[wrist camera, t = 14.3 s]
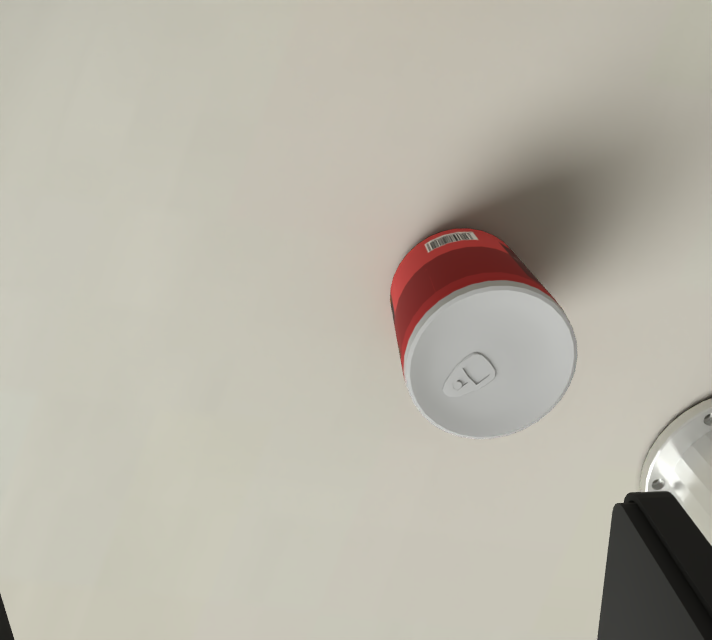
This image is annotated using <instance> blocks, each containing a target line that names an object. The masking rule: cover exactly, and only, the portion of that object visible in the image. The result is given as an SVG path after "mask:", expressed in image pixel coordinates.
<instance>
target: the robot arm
mask: <svg viewBox="0 0 712 640" xmlns="http://www.w3.org/2000/svg"><path fill="white" fill-rule="evenodd" d="M640 491H641V492H632V493H628V494H627V495H626V497H625V499H624V503H617V504H615V506H614V507H613V512H612V520H611V529H610V537H609V546H608V554H607V562H606V571H605V579H604V587H603V596H602V604H601V613H600V621H599V629H598V639H597V640H712V398H711V399H708V400H705V401H703V402H701V403H699V404H698V405H696V406H694V407H692V408H690V409H689V410H687V411H685V412H684V413H683V414H682V415H680V416H679V417H678V418H677V419H675V420H674V421H673V422H671V423H670V425H669V426H668V427H667V428H666V429H665V430H664V431H663V432H662V433H661V434H660V435H659V437H658V438H657V440H656V441H655V443H654V444H653V446H652V447H651V449H650V450H649V453H648V455H647V457H646V460H645V462H644V465H643V468H642V474H641V479H640ZM0 640H14V637H13V634H12V631H11V627H10V624H9V621H8V617H7V614H6V611H5V608H4V604H3V601H2V598H1V594H0Z"/></svg>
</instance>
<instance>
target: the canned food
mask: <svg viewBox="0 0 712 640" xmlns="http://www.w3.org/2000/svg"><path fill="white" fill-rule="evenodd" d="M390 303H391V308H392V314H393V320H394V325H395V331H396V336H397V342H398V348H399V353H400V359H401V364H402V370H403V375H404V378H405V383H406V387H407V389H408V391H409V394H410V396H411V398H412V400H413V403H414V404H415V406H416V407H417V409H418V410H419V411H420V413H421V414H422V415H423V416H424V417H425V418H426V419H427V420H428V421H429V422H430V423H432V424H433V425H434V426H436V427H438V428H439V429H441V430H443V431H445V432H447V433H450V434H453V435H456V436H459V437H464V438H471V439H492V438H497V437H502V436H508V435H510V434H513V433H516V432H518V431H521V430H523V429H525V428H527V427H529V426H531V425H532V424H534V423H536V422H538V421H539V420H540V419H541V418H543V417H544V416H545V415H546V414H548V413H549V412H550V411H551V410H552V409H553V408H554V407H555V406H556V404H557V403H558V402H559V401H560V400H561V399H562V397H563V395H564V394H565V392H566V390H567V389H568V387H569V386H570V383H571V380H572V378H573V375H574V372H575V368H576V362H577V341H576V338H575V334H574V331H573V328H572V326H571V324H570V321H569V320H568V318H567V316H566V314H565V313H564V311H563V309H562V308H561V307H560V306H559V304H558V303H557V302H556V300H555V299H554V298H553V297H552V296H551V294H550V293H549V292H548V291H547V290H546V289H545V288H544V287H543V285H542V284H541V283H540V282H539V281H538V280H537V279H536V278H535V276H534V275H533V274H532V273H531V272H530V271H529V270H528V268H527V267H526V266H525V265H524V264H523V263H522V262H521V261H520V259H519V258H518V257H517V256H516V255H515V254H514V253H513V251H512V250H511V249H510V248H509V247H508V246H507V245H506V244H505V243H504V242H503V241H501V240H500V239H498V238H497V237H495V236H494V235H491V234H489V233H486V232H484V231H481V230H475V229H469V228H465V229H452V230H447V231H442V232H439V233H437V234H435V235H432V236H430V237H428V238H426V239H425V240H423V241H422V242H420V243H419V244H417V245H416V246H415V247H414V248H413V249H412V250H411V251H410V252H409V253H408V254H407V255H406V256H405V258H404V259H403V260H402V262H401V263H400V264H399V266H398V268H397V271H396V273H395V275H394V277H393V281H392V285H391V293H390Z"/></svg>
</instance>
